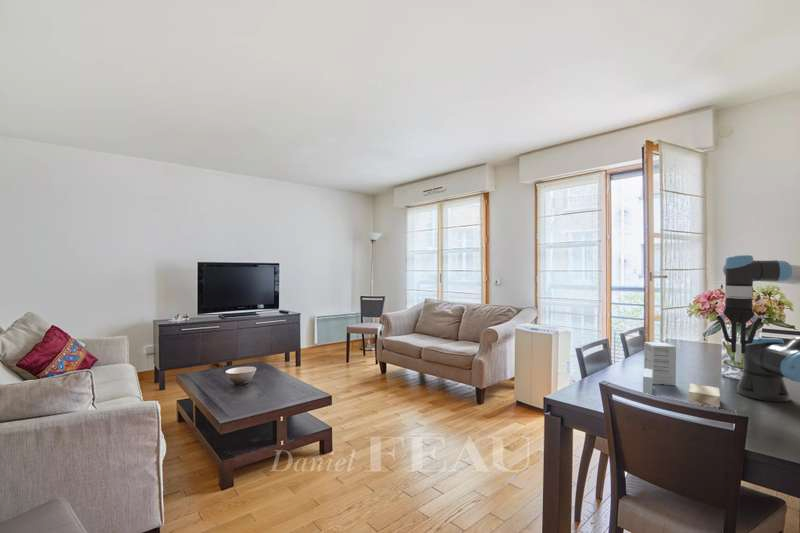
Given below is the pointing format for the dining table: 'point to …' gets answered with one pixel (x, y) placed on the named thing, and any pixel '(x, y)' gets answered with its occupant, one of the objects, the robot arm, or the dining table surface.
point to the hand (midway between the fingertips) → (738, 361)
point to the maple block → (704, 395)
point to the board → (647, 380)
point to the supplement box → (661, 362)
